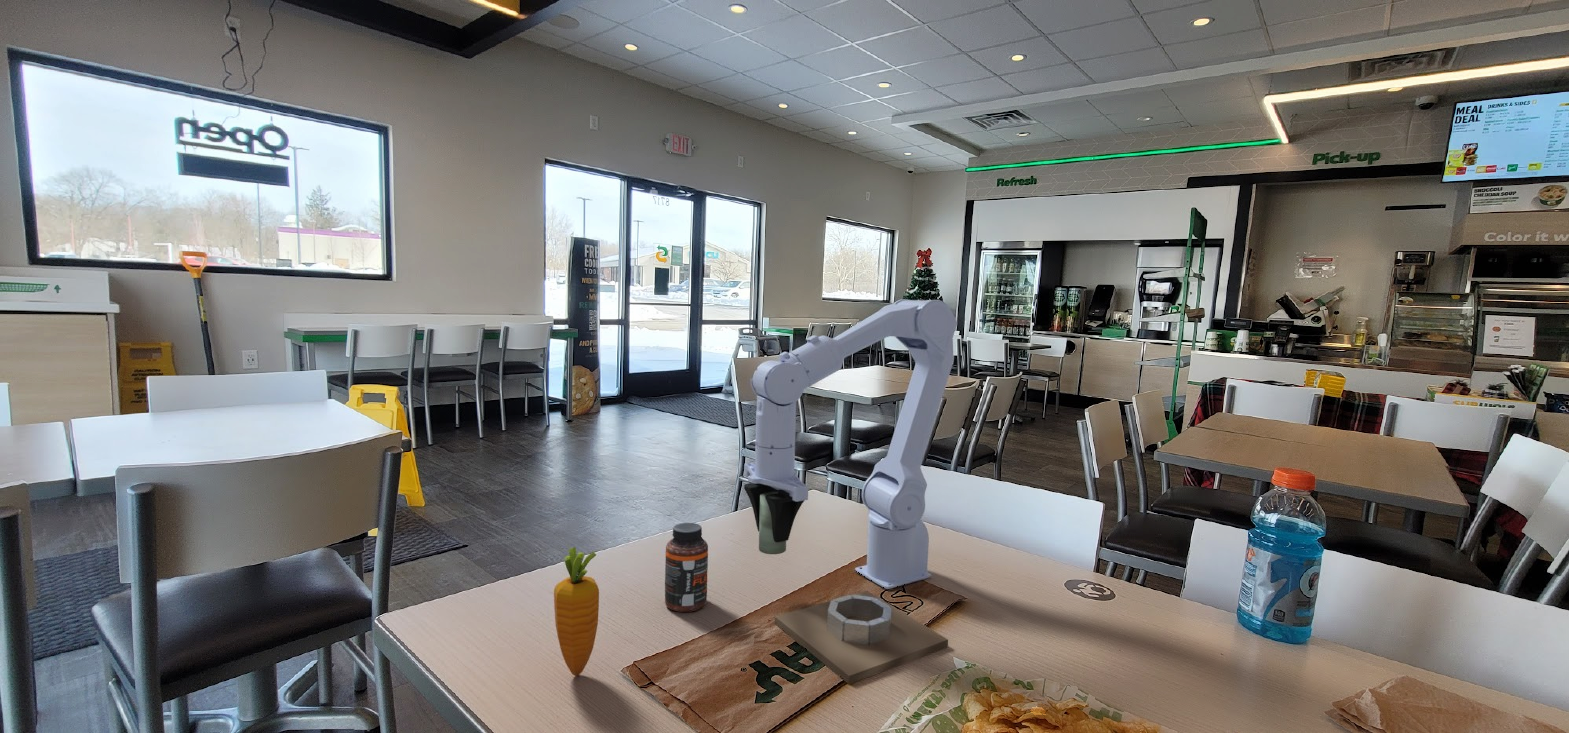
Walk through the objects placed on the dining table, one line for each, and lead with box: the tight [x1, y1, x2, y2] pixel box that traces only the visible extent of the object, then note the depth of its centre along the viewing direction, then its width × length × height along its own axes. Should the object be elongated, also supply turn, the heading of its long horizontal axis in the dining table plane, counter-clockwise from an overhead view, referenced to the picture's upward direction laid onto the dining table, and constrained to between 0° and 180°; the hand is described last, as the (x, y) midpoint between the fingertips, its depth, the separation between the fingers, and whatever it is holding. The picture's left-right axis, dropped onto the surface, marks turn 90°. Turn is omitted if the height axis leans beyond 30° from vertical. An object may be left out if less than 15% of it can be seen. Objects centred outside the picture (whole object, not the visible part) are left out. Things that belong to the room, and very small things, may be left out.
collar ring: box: [827, 594, 891, 645], centre depth 85 cm, size 8×8×2 cm
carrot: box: [553, 546, 600, 677], centre depth 74 cm, size 5×5×15 cm
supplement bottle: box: [664, 522, 709, 613], centre depth 92 cm, size 6×6×11 cm
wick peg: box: [758, 492, 787, 555], centre depth 95 cm, size 4×4×8 cm
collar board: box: [774, 590, 949, 685], centre depth 85 cm, size 16×16×1 cm
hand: (772, 535), depth 95 cm, fingers closed on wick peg, 4 cm apart
